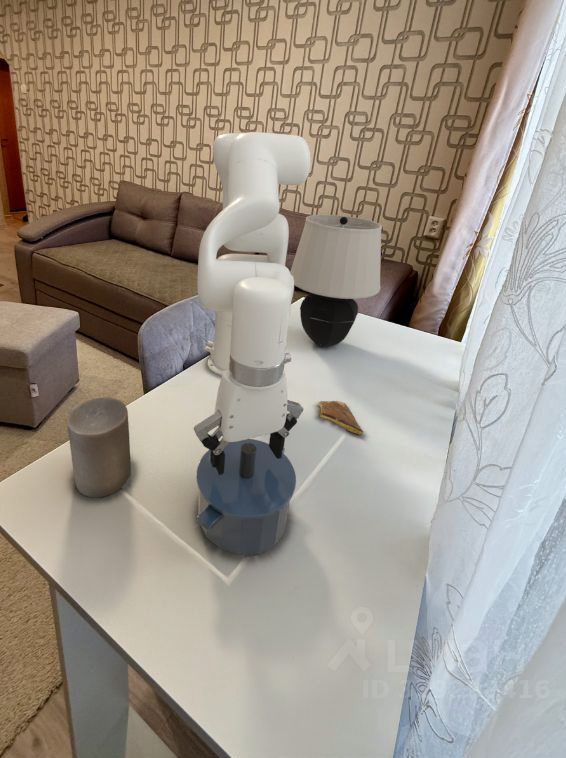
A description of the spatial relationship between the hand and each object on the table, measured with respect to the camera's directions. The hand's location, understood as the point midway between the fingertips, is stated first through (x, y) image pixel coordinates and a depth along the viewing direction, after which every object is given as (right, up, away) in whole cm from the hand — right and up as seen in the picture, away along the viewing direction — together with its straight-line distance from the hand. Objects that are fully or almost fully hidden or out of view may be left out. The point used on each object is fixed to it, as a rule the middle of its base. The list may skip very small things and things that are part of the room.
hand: (247, 459), depth 61 cm
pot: (-1, -11, +4) cm, 12 cm away
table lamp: (+24, +12, +64) cm, 69 cm away
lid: (0, -3, +1) cm, 3 cm away
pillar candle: (-26, -7, +10) cm, 28 cm away
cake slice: (+22, -2, +30) cm, 37 cm away
